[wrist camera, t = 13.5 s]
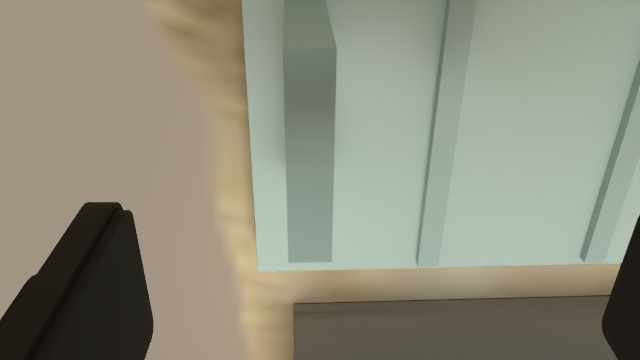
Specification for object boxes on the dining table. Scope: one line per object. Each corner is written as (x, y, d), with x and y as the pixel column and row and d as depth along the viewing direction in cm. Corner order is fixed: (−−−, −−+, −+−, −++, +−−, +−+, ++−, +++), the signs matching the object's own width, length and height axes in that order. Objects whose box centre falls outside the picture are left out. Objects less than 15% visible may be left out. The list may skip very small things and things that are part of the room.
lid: (883, -165, 17) (1223, -179, 11) (709, 229, 24) (852, 355, 18) (237, -172, 16) (204, -191, 10) (260, 238, 24) (250, 374, 17)
